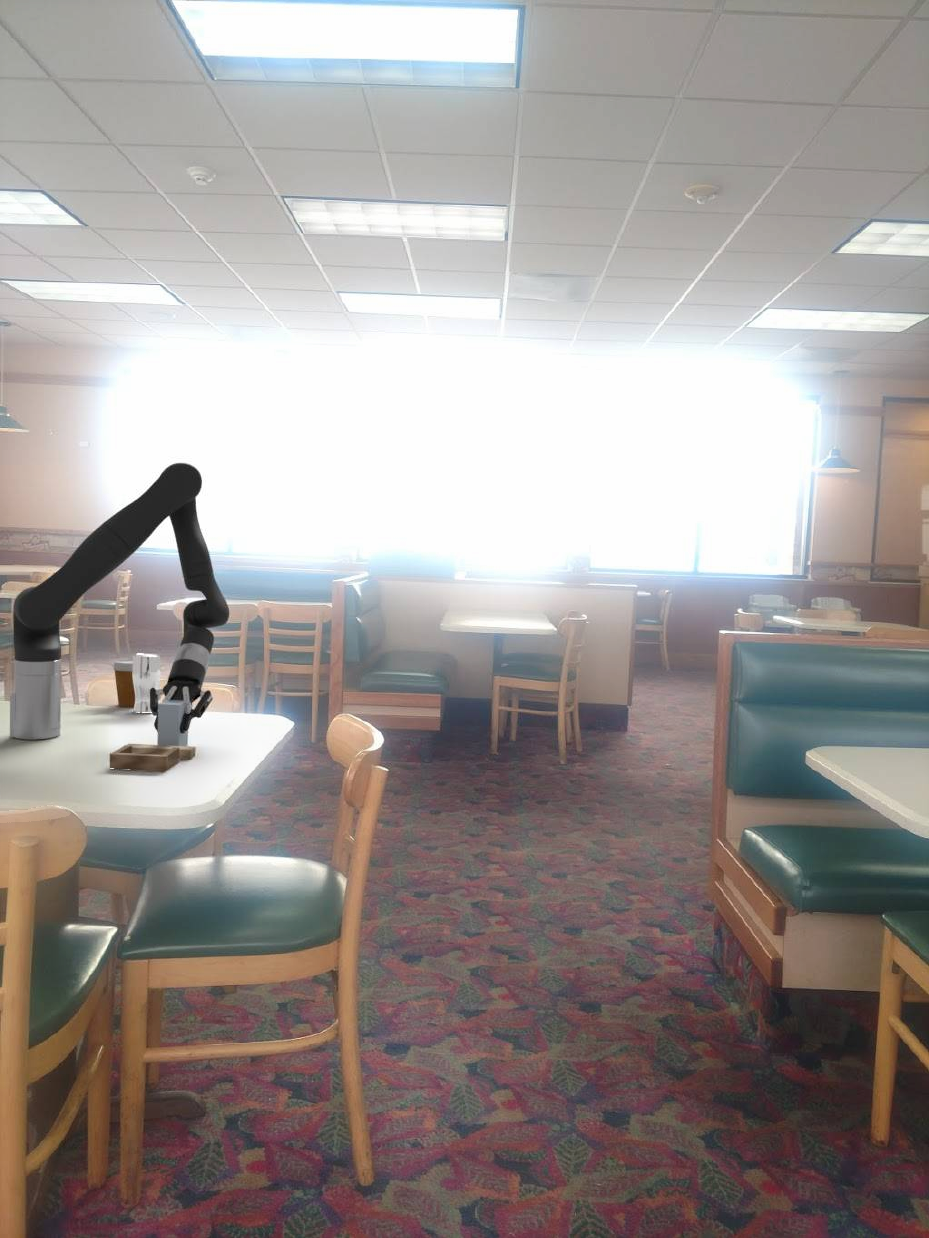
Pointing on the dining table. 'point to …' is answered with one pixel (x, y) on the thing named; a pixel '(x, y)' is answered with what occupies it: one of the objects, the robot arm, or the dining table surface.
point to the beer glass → (145, 679)
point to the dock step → (163, 750)
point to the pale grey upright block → (171, 723)
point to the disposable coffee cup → (124, 682)
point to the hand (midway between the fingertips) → (170, 730)
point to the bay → (143, 760)
